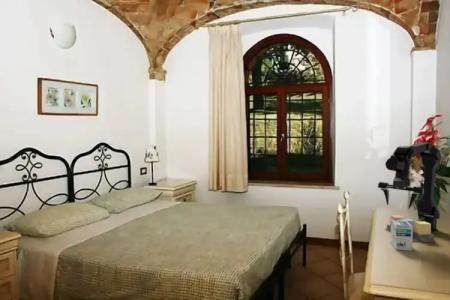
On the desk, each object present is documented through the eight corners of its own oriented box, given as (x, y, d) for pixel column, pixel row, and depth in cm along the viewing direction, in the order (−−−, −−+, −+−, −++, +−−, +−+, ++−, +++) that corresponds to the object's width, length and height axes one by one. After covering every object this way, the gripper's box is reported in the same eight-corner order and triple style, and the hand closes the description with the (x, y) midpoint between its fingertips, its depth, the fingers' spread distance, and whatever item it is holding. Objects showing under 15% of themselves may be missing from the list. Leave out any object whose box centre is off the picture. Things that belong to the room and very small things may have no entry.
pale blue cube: (409, 228, 184) (409, 218, 184) (414, 231, 179) (414, 220, 179) (399, 228, 184) (399, 218, 183) (404, 231, 179) (404, 220, 179)
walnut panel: (409, 229, 193) (409, 224, 193) (434, 241, 172) (434, 235, 172) (385, 229, 193) (385, 224, 193) (407, 241, 172) (407, 235, 172)
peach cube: (399, 224, 191) (399, 215, 191) (404, 227, 186) (405, 217, 186) (390, 224, 190) (390, 215, 190) (395, 227, 186) (395, 217, 185)
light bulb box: (412, 251, 158) (413, 225, 158) (395, 250, 160) (396, 224, 159) (406, 243, 169) (406, 219, 168) (389, 242, 170) (390, 218, 170)
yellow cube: (424, 231, 178) (424, 221, 178) (430, 234, 173) (430, 224, 173) (414, 231, 178) (414, 221, 178) (420, 234, 173) (420, 224, 173)
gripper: (377, 169, 175) (373, 203, 174) (423, 174, 165) (419, 210, 164) (382, 170, 184) (378, 203, 183) (425, 175, 174) (421, 210, 173)
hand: (398, 206), depth 176 cm, fingers open, 9 cm apart
